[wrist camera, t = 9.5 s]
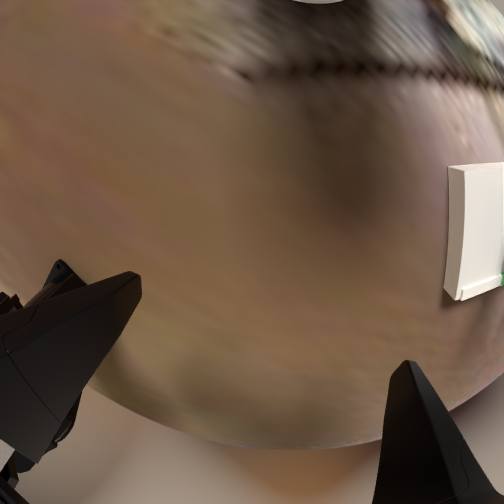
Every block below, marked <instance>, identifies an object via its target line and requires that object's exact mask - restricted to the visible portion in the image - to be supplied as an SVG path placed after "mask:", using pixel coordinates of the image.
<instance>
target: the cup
mask: <svg viewBox="0 0 504 504" xmlns="http://www.w3.org/2000/svg"><path fill="white" fill-rule="evenodd" d="M294 1H299V2H305V3H316V4H325V3H334V2H339V1H343V0H294Z"/></svg>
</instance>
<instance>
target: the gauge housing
mask: <svg viewBox="0 0 504 504" xmlns="http://www.w3.org/2000/svg"><path fill="white" fill-rule="evenodd" d="M448 179H449V233H448V250H447V261H446V271H445V279H444V287H443V288H444V289H445V290H446V291H447V293H448V294H449V295H450V296H451V297H452V298H453V299H454V300H455V301H456V300H458V299H460V300H461V301H463V300H466V299H468V298H471V297H473V296H476V295H479V294H481V293H484V292H486V291H488V290H491V289H493V288H496V287H498V286H500V287H501V286H503V285H504V162H498V163H482V164H469V165H457V166H448Z"/></svg>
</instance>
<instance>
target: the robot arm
mask: <svg viewBox="0 0 504 504" xmlns="http://www.w3.org/2000/svg"><path fill="white" fill-rule="evenodd" d="M60 266H61V267H60ZM141 297H142V286H141V277H140V275H139V274H136V273H134V272H132V271H127V272H124V273H121V274H119V275H116V276H113V277H110V278H107V279H104V280H101V281H98V282H95V283H93V284H90V285H86V284H85V283H84V282H83V281H82V280H81V279H80V278H79V277H78V276H77V275H76V274H75V273H74V272H73V271H72V270H71V269H70V268H69V267H68V266H67V265H66V264H65V262H64V261H62V260H61V259H59V260H57V261H56V262H55V264H54V266H53V268H52V270H51V272H50V274H49V276H48V278H47V280H46V282H45V284H44V286H43V289H42V290H41V291H39V292H38V293H37V294H36V295H35V296H34V297H33V298H32V299H31V300H30V301H29V302H28V303H27V304H26V305H25V306H24V307H23V306H22V305H21V303H20V301H19V300H20V299H19V298H18V296H17V294H15V295H13V296H12V297H9V295H6V294H5V293H4V292H1V293H0V504H29V503H28V502H27V501H26V500H25V499H24V498H23V497H22V496H21V495H19V493H17V492H16V491H15V490H14V488H15V487H16V485H17V483H18V482H19V479H18V475H17V473H23V472H26V471H29V470H30V469H31V468H32V467H33V466H34V465H35V463H37V464H38V463H39V461H40V459H41V458H42V456H43V455H44V454H45V453H47V452H48V451H50V450H52V449H54V448H56V447H57V443H58V442H60V441H61V440H63V439H64V438H65V437H66V436H67V435H68V434H69V432H70V431H71V429H72V427H73V425H74V422H75V419H76V414H77V410H78V406H79V402H80V398H81V394H82V390H83V388H84V387H85V386H86V384H87V383H88V381H89V380H90V378H91V377H92V375H93V374H94V372H95V371H96V369H97V368H98V366H99V365H100V363H101V362H102V360H103V359H104V358H105V356H106V355H107V353H108V352H109V350H110V349H111V347H112V346H113V345H114V343H115V342H116V340H117V339H118V338H119V336H120V335H121V333H122V331H123V330H124V328H125V326H126V324H127V322H128V321H129V319H130V317H131V315H132V314H133V312H134V310H135V308H136V307H137V305H138V303H139V302H140V300H141ZM372 504H504V496H503V495H501V494H500V493H498V492H497V491H496V490H495V489H494V487H493V486H492V484H491V483H490V481H489V479H488V478H487V476H486V474H485V473H484V471H483V470H482V468H481V467H480V465H479V464H478V462H477V460H476V459H475V457H474V455H473V453H472V452H471V450H470V448H469V447H468V445H467V443H466V441H465V439H463V436H462V434H461V432H460V431H459V429H458V427H457V425H456V424H455V422H454V420H453V419H452V417H451V415H450V414H449V412H448V410H447V409H446V407H445V406H444V404H443V402H442V401H441V399H440V398H439V396H438V394H437V393H436V391H435V390H434V388H433V387H432V385H431V384H430V382H429V381H428V379H427V377H426V376H425V374H424V373H423V371H422V370H421V369H420V367H419V366H418V364H417V363H416V362H414V361H410V360H405V361H403V362H402V363H401V365H400V366H399V367H398V368H397V369H396V370H395V371H394V373H393V374H392V375H391V378H390V382H389V390H388V397H387V403H386V409H385V415H384V423H383V434H382V444H381V453H380V461H379V467H378V474H377V480H376V486H375V491H374V496H373V501H372Z"/></svg>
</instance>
